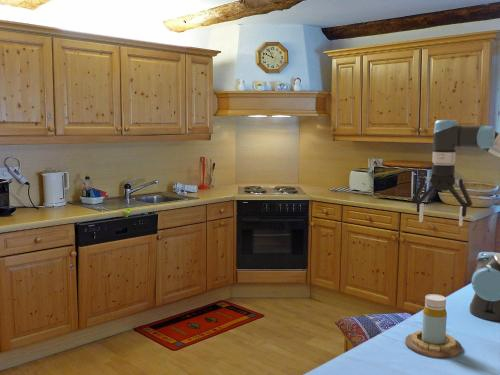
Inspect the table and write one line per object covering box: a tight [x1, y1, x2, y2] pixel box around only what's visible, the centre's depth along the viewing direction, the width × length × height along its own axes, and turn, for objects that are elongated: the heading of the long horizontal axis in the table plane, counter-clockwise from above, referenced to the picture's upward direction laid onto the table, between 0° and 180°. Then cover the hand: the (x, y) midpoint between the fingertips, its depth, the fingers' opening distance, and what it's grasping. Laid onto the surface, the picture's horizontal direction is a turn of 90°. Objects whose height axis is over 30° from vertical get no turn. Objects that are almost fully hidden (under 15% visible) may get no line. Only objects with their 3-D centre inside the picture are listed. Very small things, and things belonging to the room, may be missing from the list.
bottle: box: [421, 293, 448, 345], centre depth 167 cm, size 7×7×15 cm
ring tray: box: [404, 330, 463, 359], centre depth 168 cm, size 17×17×2 cm
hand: (440, 223), depth 188 cm, fingers open, 13 cm apart
